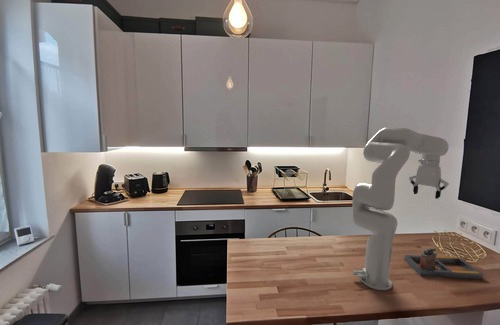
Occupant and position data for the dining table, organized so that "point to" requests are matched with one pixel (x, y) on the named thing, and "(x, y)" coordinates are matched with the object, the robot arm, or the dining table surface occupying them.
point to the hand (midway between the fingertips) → (426, 195)
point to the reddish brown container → (428, 259)
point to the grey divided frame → (444, 267)
